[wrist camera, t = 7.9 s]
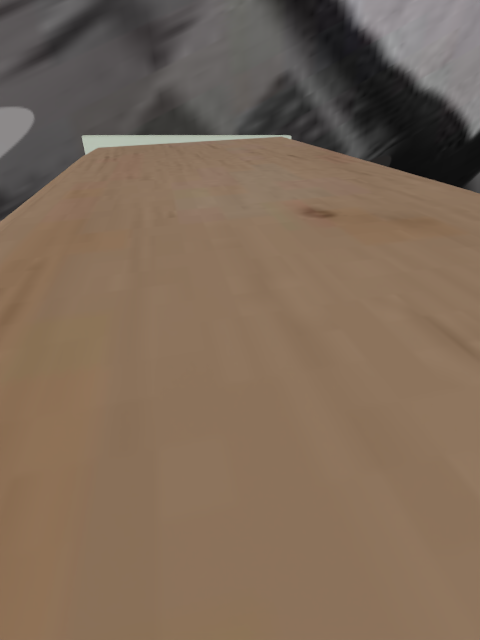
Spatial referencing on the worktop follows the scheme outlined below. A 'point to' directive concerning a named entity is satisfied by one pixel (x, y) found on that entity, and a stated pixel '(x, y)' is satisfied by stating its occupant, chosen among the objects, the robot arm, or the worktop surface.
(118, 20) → the worktop surface
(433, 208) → the wooden block
